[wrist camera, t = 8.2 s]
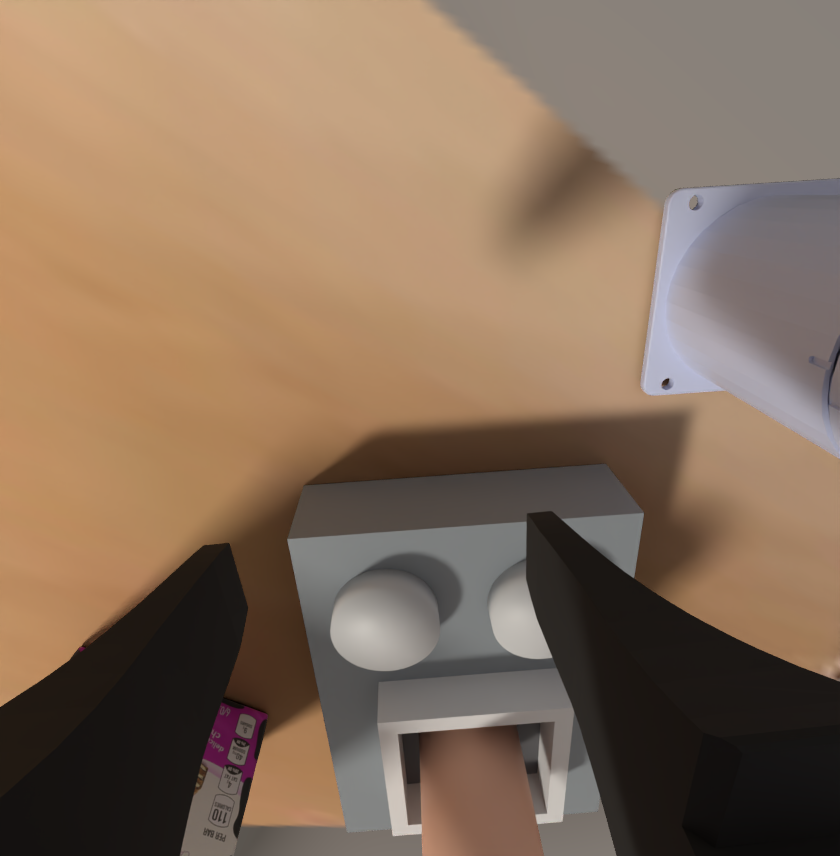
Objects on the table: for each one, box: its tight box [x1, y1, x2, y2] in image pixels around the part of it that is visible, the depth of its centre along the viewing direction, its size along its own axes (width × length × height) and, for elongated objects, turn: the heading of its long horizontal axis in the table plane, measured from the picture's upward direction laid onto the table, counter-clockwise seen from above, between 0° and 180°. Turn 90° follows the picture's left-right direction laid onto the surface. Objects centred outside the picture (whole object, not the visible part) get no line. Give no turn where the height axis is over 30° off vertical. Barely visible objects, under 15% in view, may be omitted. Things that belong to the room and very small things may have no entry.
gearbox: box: [287, 464, 644, 836], centre depth 25 cm, size 14×20×6 cm
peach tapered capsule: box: [419, 725, 544, 856], centre depth 22 cm, size 5×7×8 cm
